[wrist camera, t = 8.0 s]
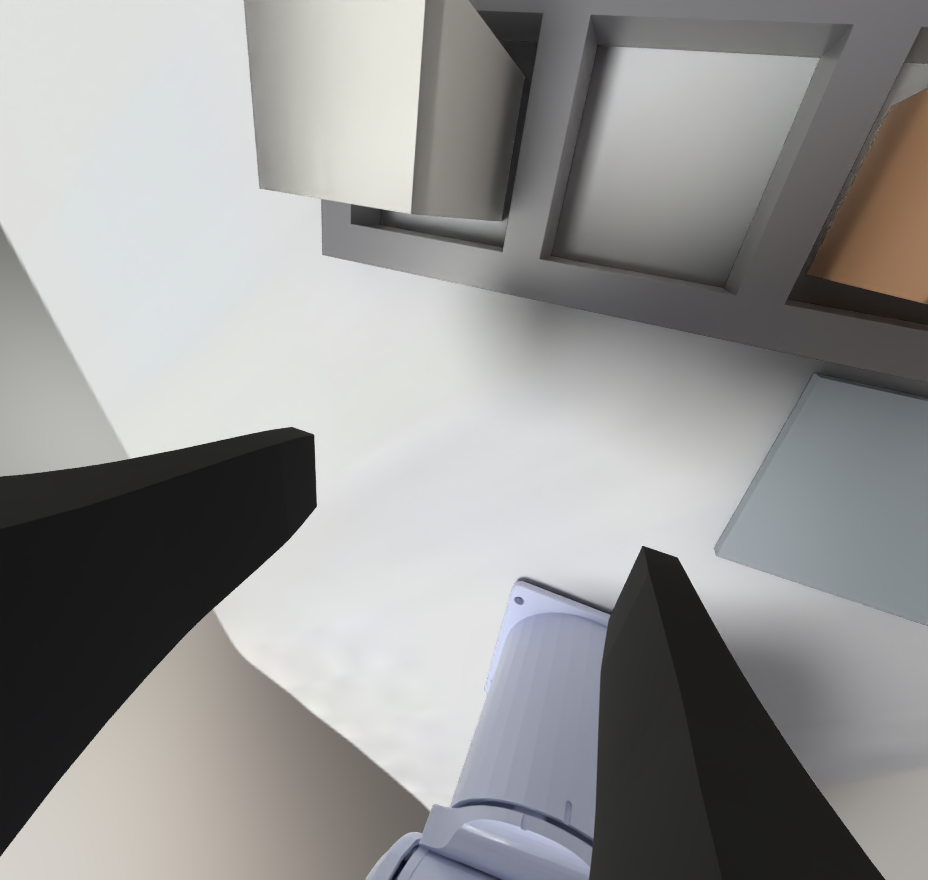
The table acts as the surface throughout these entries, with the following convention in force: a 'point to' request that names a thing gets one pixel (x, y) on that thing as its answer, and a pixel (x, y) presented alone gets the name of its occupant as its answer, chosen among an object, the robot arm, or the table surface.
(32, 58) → the table surface
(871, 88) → the gray slotted rack
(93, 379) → the table surface
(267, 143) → the twin plug
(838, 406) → the mat
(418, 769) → the table surface
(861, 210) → the plug
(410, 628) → the table surface
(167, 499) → the robot arm
